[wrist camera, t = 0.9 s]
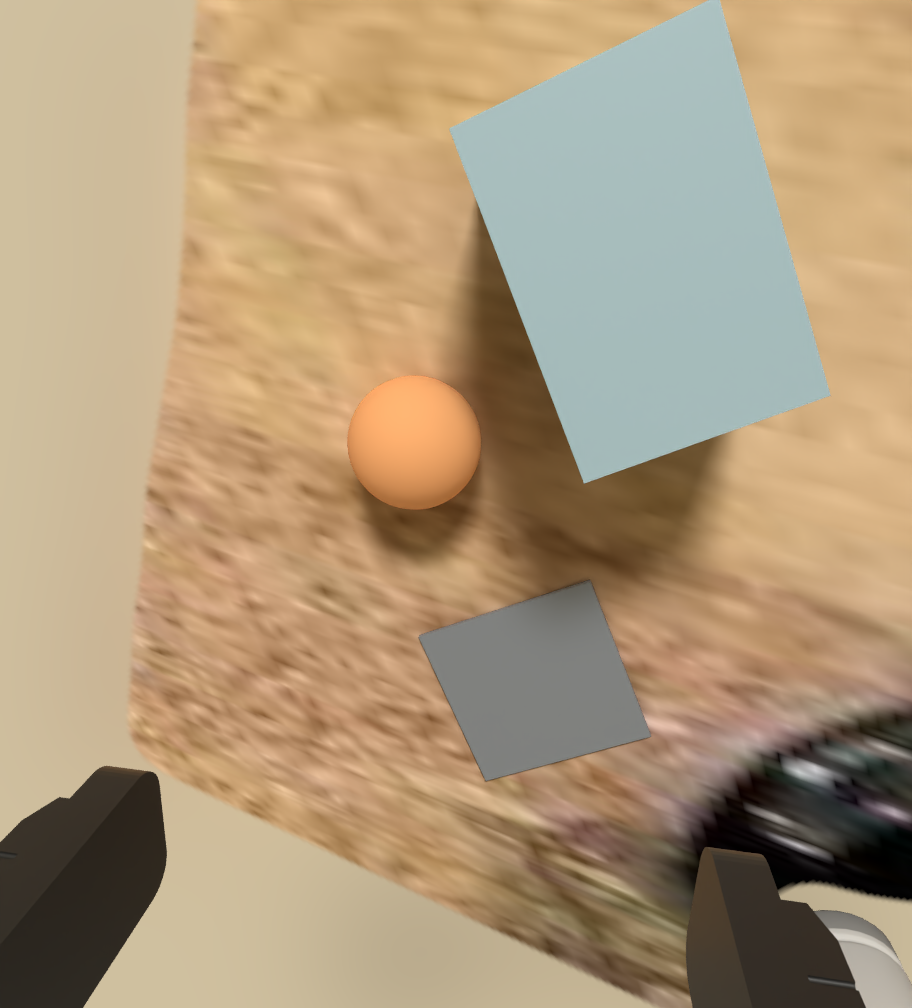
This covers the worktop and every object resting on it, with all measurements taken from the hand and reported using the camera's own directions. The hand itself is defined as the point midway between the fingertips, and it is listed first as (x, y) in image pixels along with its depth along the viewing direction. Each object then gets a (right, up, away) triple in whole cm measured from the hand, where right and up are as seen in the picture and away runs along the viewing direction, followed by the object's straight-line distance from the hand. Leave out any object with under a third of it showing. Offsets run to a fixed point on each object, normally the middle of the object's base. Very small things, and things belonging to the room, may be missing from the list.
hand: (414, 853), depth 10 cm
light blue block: (+6, +14, +16) cm, 22 cm away
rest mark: (+4, -3, +22) cm, 22 cm away
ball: (-1, +7, +16) cm, 18 cm away
